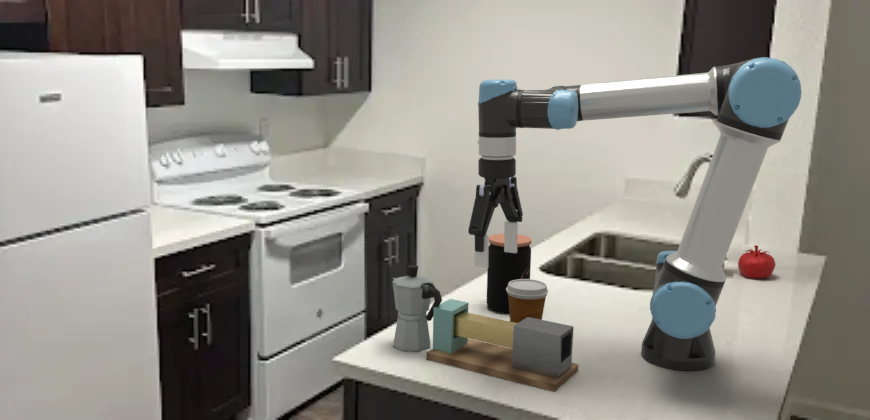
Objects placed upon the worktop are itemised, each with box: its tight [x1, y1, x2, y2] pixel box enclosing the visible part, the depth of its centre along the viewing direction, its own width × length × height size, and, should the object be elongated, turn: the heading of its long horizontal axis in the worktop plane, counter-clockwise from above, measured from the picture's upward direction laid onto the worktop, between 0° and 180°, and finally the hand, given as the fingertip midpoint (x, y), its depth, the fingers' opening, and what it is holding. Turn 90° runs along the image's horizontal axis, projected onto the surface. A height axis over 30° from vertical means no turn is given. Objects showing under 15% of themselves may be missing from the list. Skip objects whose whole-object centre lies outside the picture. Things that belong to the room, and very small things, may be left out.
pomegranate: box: [737, 244, 776, 280], centre depth 235 cm, size 10×10×9 cm
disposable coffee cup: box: [506, 278, 549, 323], centre depth 184 cm, size 10×10×12 cm
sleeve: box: [512, 317, 574, 379], centre depth 162 cm, size 10×7×9 cm, turn 59°
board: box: [425, 338, 579, 393], centre depth 167 cm, size 29×12×2 cm, turn 59°
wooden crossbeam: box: [453, 311, 517, 349], centre depth 167 cm, size 20×4×4 cm, turn 59°
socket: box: [432, 298, 470, 353], centre depth 172 cm, size 4×7×9 cm, turn 149°
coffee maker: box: [392, 264, 443, 353], centre depth 175 cm, size 15×9×18 cm, turn 45°
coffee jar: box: [486, 233, 532, 315], centre depth 202 cm, size 11×11×18 cm
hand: (496, 259), depth 167 cm, fingers open, 13 cm apart
